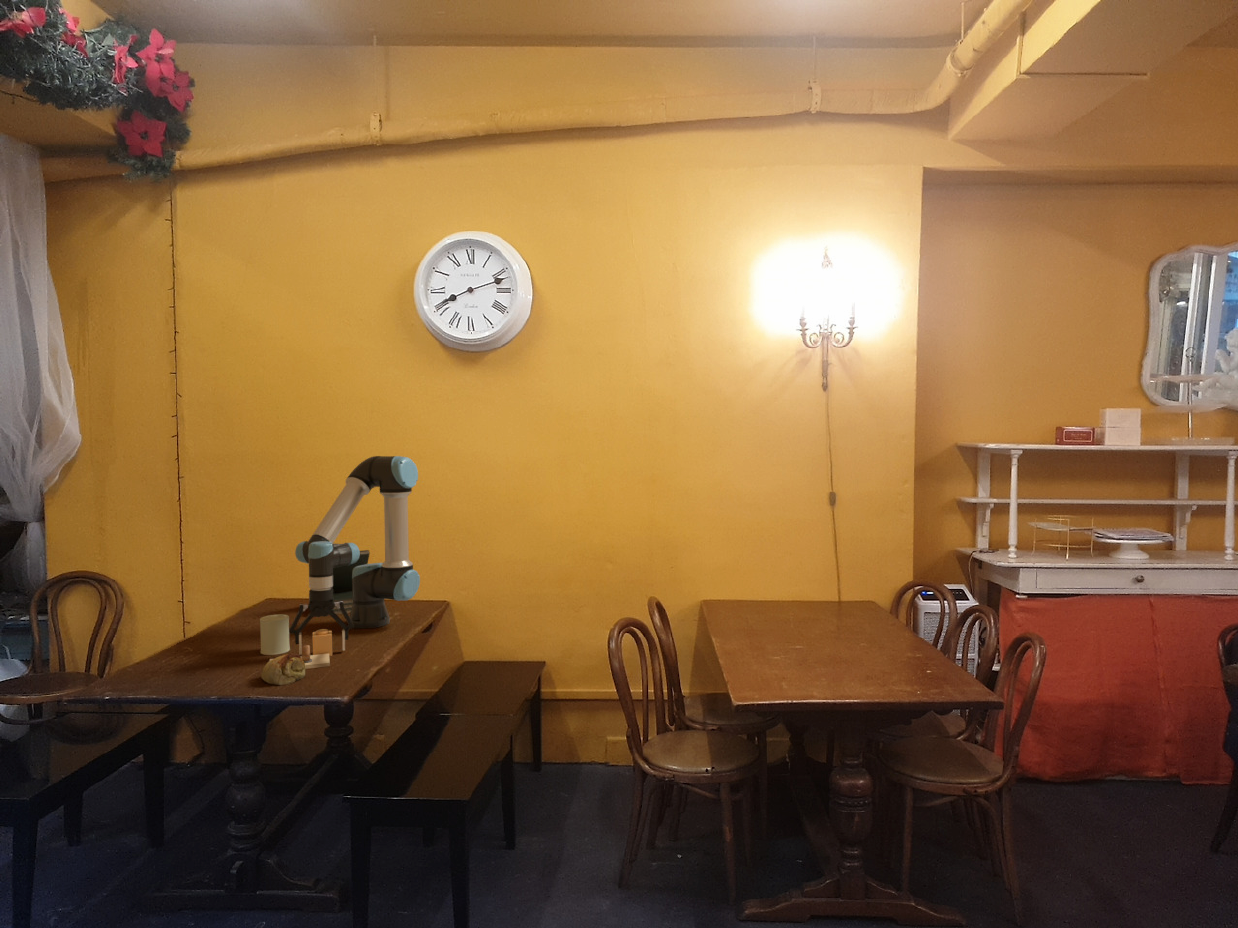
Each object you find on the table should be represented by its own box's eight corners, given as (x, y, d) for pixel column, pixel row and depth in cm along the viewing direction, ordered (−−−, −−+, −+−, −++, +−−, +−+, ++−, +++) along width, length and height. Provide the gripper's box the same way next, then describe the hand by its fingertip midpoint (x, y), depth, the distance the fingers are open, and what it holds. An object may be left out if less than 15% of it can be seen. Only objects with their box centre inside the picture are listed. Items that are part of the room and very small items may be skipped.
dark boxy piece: (364, 601, 348) (363, 544, 346) (375, 610, 331) (374, 550, 330) (309, 608, 336) (307, 549, 335) (317, 617, 319) (316, 555, 318)
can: (296, 648, 274) (295, 614, 273) (276, 656, 265) (275, 620, 264) (274, 646, 277) (273, 612, 276) (254, 653, 268) (253, 618, 267)
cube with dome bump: (332, 651, 271) (331, 627, 270) (332, 655, 265) (331, 631, 265) (313, 652, 268) (312, 629, 268) (313, 657, 263) (312, 633, 262)
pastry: (298, 685, 235) (297, 658, 235) (254, 687, 234) (253, 660, 234) (312, 670, 249) (311, 645, 249) (270, 672, 248) (270, 646, 248)
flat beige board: (329, 656, 264) (328, 638, 263) (329, 666, 253) (329, 646, 253) (269, 662, 257) (269, 643, 257) (267, 672, 247) (267, 652, 247)
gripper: (360, 583, 273) (360, 644, 274) (281, 588, 265) (282, 652, 266) (361, 587, 266) (362, 650, 267) (280, 593, 258) (281, 658, 259)
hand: (322, 651), depth 267 cm, fingers open, 13 cm apart
